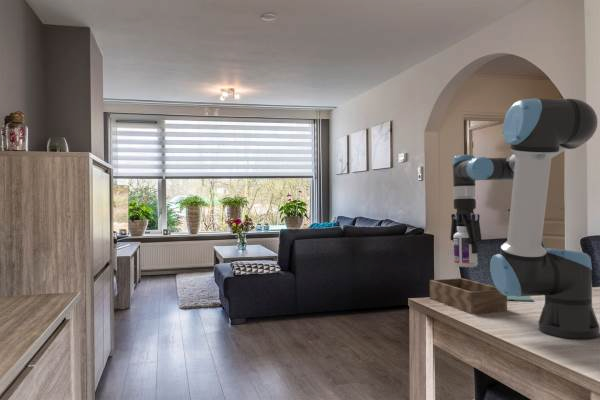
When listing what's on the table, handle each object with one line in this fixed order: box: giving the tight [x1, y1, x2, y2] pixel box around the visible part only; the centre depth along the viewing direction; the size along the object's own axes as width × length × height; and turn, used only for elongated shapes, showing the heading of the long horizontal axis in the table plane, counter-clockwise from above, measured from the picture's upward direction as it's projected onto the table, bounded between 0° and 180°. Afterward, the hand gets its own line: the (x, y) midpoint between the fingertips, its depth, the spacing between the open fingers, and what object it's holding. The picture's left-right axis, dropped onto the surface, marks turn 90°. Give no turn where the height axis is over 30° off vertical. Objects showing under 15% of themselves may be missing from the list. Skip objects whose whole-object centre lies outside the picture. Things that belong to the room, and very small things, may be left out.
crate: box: [429, 277, 508, 314], centre depth 173 cm, size 26×14×7 cm, turn 15°
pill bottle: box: [453, 226, 479, 268], centre depth 173 cm, size 8×8×14 cm
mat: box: [507, 296, 534, 302], centre depth 184 cm, size 14×14×1 cm
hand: (465, 261), depth 173 cm, fingers closed on pill bottle, 8 cm apart
